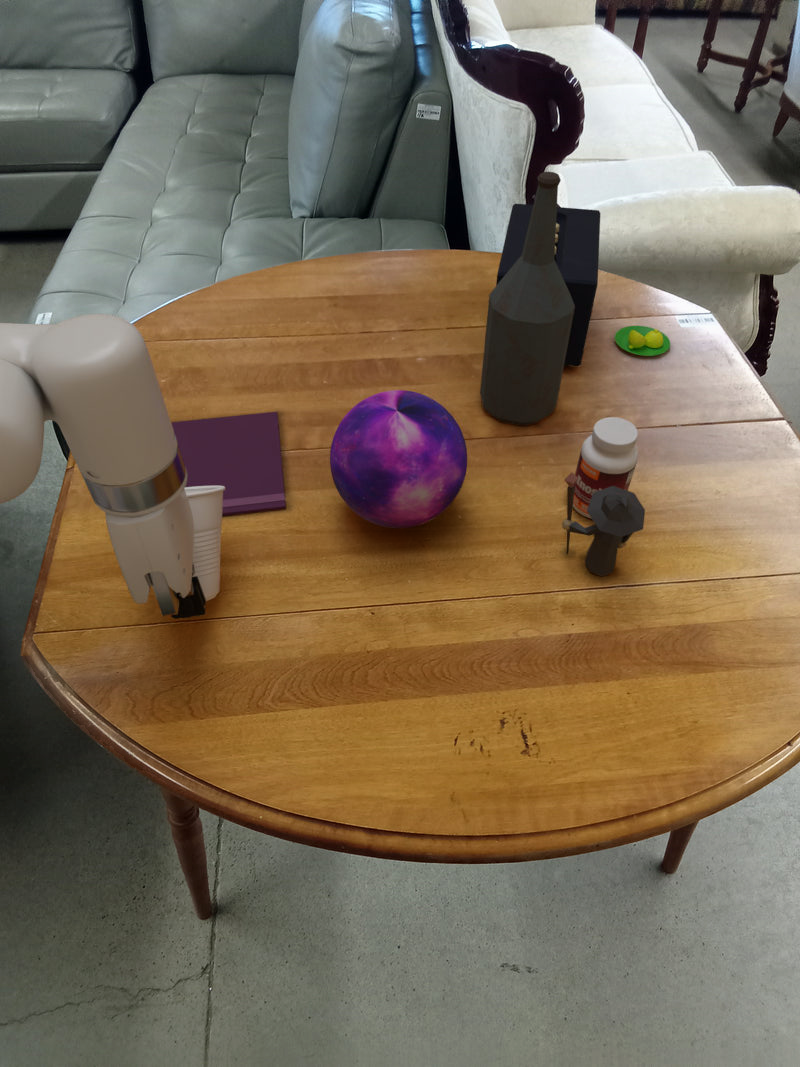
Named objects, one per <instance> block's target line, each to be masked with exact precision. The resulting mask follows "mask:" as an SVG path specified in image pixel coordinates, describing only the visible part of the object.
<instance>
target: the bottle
mask: <svg viewBox="0 0 800 1067" xmlns="http://www.w3.org/2000/svg"><path fill="white" fill-rule="evenodd" d="M536 179H537V189H536V193H535V197H534V200H533V201H534V202H533V204H532V205H533V209H532V213H531V218H530V222H529V226H528V230H527V235H526V239H525V243H524V248H523V252H522V256H521V257H520V258H519V259H518V260H517V262H516V263H515V264H514V265H513V266H512V268H511V269H510V270H509V271H508V272H507V274H506V275H505V276H504V277H503V278H502V280H501V281H500V282H499V283H498V284H497V285H496V284H495V287H494V288H492V291H490V293H489V294H488V305H487V306H488V307H487V316H486V328H485V338H484V346H483V348H484V349H483V356H482V358H483V359H482V367H481V379H480V388H479V389H480V390H479V393H480V399H481V404H482V408H483V409H484V411H485V413H487V414H489V415H490V416H491V417H493V418H495V419H496V420H498V421H499V422H500V423H505V424H511V425H516V426H530V425H535V424H536V423H538V422H540V421H541V420H544V419H545V418H547V417H549V416H550V415H551V414H552V413H553V412H554V410H555V409H556V407H557V404H558V400H559V394H560V388H561V384H562V383H561V382H562V378H563V373H564V367H565V366H564V362H565V357H566V352H567V346H568V341H569V336H570V331H571V325H572V320H573V315H574V309H575V305H574V303H573V300H572V298H571V295H570V293H569V291H568V288H567V286H566V284H565V282H564V280H563V277H562V275H561V273H560V271H559V269H558V266H557V264H556V262H555V260H554V255H555V235H556V215H557V207H558V192H559V185H560V183H561V182H562V181H561V177H560V175H559V174H558V173H557V172H554V171H542V172H541V173H539V175H538V176H537V178H536Z"/></svg>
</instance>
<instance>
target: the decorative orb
mask: <svg viewBox="0 0 800 1067" xmlns="http://www.w3.org/2000/svg"><path fill="white" fill-rule="evenodd" d="M329 467H330V473H331V477H332V481H333V484H334V486H335V489H336V490H337V492H338V495H339V496H340V497H341V499H342V501H343V502H344V503H345V504H346V505H347V507H349V509H350V510H351V511H353V512H354V513H355V514H356V515H358V516H359V517H360V518H362V519H363V520H365V521H368V522H369V523H372V524H374V525H377V526H380V527H385V528H391V529H408V528H413V527H417V526H420V525H423V524H425V523H428V522H430V521H433V520H434V519H435V518H438V517H439V516H440V515H441V514H442V513H444V512H445V511H446V510H447V509H448V508H449V507H450V506H451V505H452V503H453V502H454V501H455V499H457V497H458V495H459V493H460V492H461V489H462V487H463V484H464V481H465V479H466V474H467V469H468V449H467V444H466V440H465V437H464V434H463V432H462V429H461V427H460V425H459V424H458V422H457V421H456V419H455V418H454V416H453V415H452V414H451V412H449V410H447V409H446V407H444V406H443V405H442V404H441V403H439V402H438V401H437V400H436V399H433V398H431V397H429V396H427V395H425V394H423V393H420V392H416V391H411V390H404V389H394V390H385V391H381V392H377V393H375V394H372V395H370V396H367V397H366V398H363V399H362V400H361V401H359V402H358V403H357V404H355V405H354V406H353V407H352V408H351V409H350V410H349V411H348V412H347V413H346V414H345V415H344V417H343V418H342V419H341V421H340V422H339V424H338V426H337V428H336V430H335V432H334V435H333V437H332V441H331V445H330V451H329Z"/></svg>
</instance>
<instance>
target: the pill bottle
mask: <svg viewBox="0 0 800 1067" xmlns="http://www.w3.org/2000/svg"><path fill="white" fill-rule="evenodd" d="M638 436H639V432H638V429H637V427H636V426H635V425H634V424H633V423H632V422H631V421H629V420H627V419H625V418H622V417H616V416H609V417H603V418H601V419H599V420H598V421H597V422H595V424H594V425H593V428H592V433H591V434H590V435H589V436H588V437H586V438H585V440H584V441H583V443H582V446H581V448H580V453H579V457H578V459H577V460H578V461H577V464H576V469H575V473H574V474H575V475H576V476H577V477H578V478H579V479H578V480H577V482H576V483H575V485H574V486H575V490H574V499H573V509H574V510H575V511H576V512H577V513H579V515H581V516H583V517H586V518H589V519H591V520H592V518H591V517H590V515H589V514H588V512H587V509H588V507H589V504H590V501H591V498H592V495H593V493H595V492H597V491H600V490H603V489H605V488H608V487H611V486H615V487H618V488H621V489H624V490H627V491H629V488H630V485H631V482H632V479H633V476H634V472H635V470H636V466H637V464H638V460H639V451H638V447H637V442H638Z"/></svg>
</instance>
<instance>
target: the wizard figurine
mask: <svg viewBox="0 0 800 1067" xmlns="http://www.w3.org/2000/svg"><path fill="white" fill-rule="evenodd" d="M578 479H579V478H578V477H577V476H576V475H575V473H574V472H573V471H571V472H570V473H568V475H567V476H566V477H565V478H564V482H565V483H566V484H567V487H566V488H567V490H566V491H567V492H566V495H567V497H566V498H567V500H566V501H567V502H566V505H567V506H566V519H564V520H563V521H562V522H561V526H562V529H564V530H565V531H566V549H565V550H566V555H568V554H569V550H570V541H571V540H570V538H571V533H573V534H579V535H582V536H583V535H584V536H587V537H590V536H593V539H592V541H591V544H590V545H589V547H588V549H587V551H586V554H585V560H584V563H585V565H586V567H587V569H588V570H589V572H590V573H593V574H595V575H598V576H600V577H605V576H607V575H609V574H612V573H614V571H615V566H616V561H617V556H618V550H621V549H622V548H625V547H626V545H627V542H628V540H629V539H630V538H631V537H632V536H633V534H634V533H636V532H639V531H643V530H644V525H645V513H646V509H645V508H644V506H643V505H642V503H641V501H640V500H639V498H638V497H637V495H636V493H635V492H632V491H629V490H628V491H627V490H624V489H621V488H618V487H615V486H611V487H608V488H605V489H603V490H600V491H597V492H595V493H593V495H592V498H591V501H590V504H589V507H588V509H587V512H588V514H589V515H590V517H591V518H592V519H591V518H590V519H591V520H592V521H593V523H594V524H592V525H588V526H586V527H585V526H583V525H581V524H580V523H579V522H578V521H576V520H574V521H573V520H572V516H573V509H574V507H573V499H574V490H575V486H574V485H575V483H576V482H577V480H578Z"/></svg>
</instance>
